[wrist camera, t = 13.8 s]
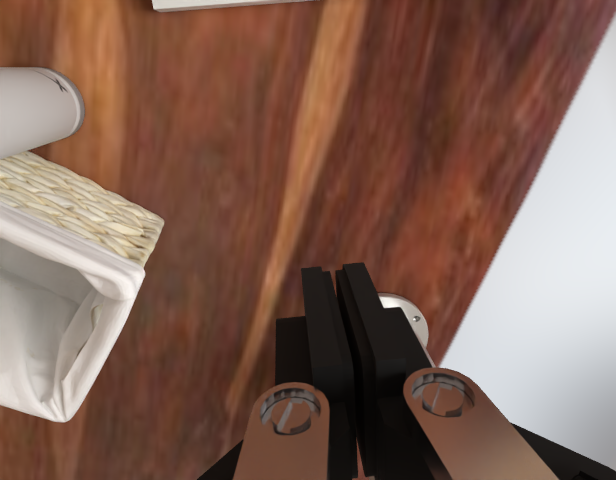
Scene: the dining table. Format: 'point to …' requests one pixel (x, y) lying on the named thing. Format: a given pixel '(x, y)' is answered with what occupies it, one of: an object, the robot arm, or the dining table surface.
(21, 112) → the travel mug
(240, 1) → the board
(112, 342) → the storage basket
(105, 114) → the dining table surface
